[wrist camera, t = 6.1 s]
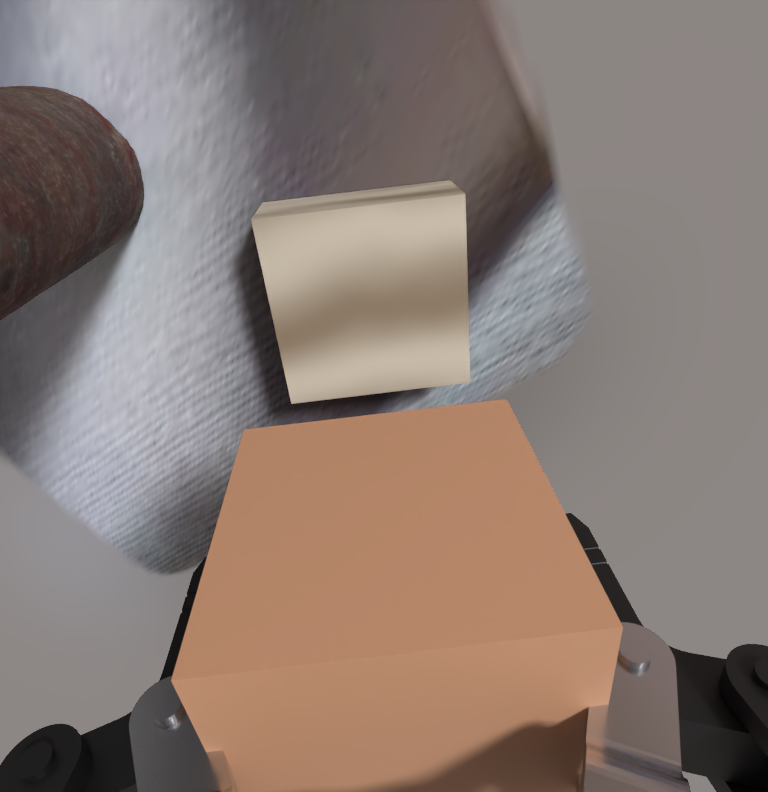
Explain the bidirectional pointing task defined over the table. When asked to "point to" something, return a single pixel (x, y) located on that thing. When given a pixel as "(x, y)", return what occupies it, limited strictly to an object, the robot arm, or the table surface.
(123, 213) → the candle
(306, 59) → the table surface
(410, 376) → the oak plinth
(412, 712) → the terracotta cube
